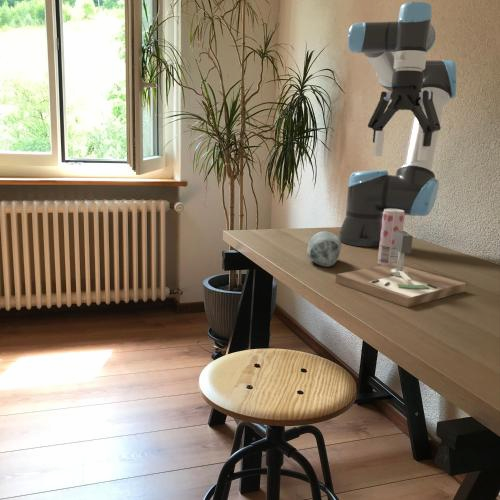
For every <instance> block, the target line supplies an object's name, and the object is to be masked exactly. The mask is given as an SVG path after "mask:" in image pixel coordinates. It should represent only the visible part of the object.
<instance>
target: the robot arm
mask: <svg viewBox="0 0 500 500" xmlns="http://www.w3.org/2000/svg"><path fill="white" fill-rule="evenodd" d="M432 6H433V5H431V3H430V2H426V1H409V2H405V3H403V4H401V6H400V8H399V13H398V18H397V20H396V21H372V22H371V21H369V22H368V21H367V22H366V21H363V22H356V23H353V24H351V25H350V27H349V30H348V35H347V46H348V49H349V51H350V52H352V53H358V54H361V53H363V55H364V56H365V57H366V59H367V61H368V62H369V63H370V65H371V67H372V68H373V70H374V71H375V79H376V81H377V82H378V83H379V85H380V86H381V87H383V88H384V89H385V90H387V91H383V90H382V91H381V92H380V97H379V101H378V103H377V105H376V107H375V110H374V111H373V113H372V115H371V118H370V120H369V122H368V124H367V127H368V128H370V129H371V130H373V135H372V136H373V137H372V143H374V144H373V154H372V156H373V157H383V150H384V138H385V133H386V132H385V131H384V128H385V126H386V125H387V124H388V122H389V121H390V120H391V119H392V118H393V117H394V116H395V114H396V113H397V112H399V111H411V112H412V114H413V116H412V122H411V126H410V132H409V136H408V141H407V145H406V150H405V155H404V160H403V164H402V165H401V166H400V167H398V168H397V170H396V174H395V175H393V174H392V175H391V174H389V172H388V170H387V169H377V170H376V169H375V170H374V169H373V170H372V169H371V170H359V171H354V172H352V173H351V174H350V176H349V180H348V185H347V188H348V189H347V197H346V198H347V199H346V208H345V209H346V211H345V218H344V220H343V222H342V225H341V227H340V230H339V232H338V235H337V237H338V238H339V239H340V240H341V244H345V245H350V246H355V247H356V246H357V247H365V248H367V247H368V248H377V247H378V248H379V244H380V236H381V227H382V218H383V212H384V209H400V210H404V214H405V216H412V217H426V216H428V215H430V213H431V212H432V210H433V208H434V206H435V202H436V199H437V197H438V196H437V195H438V191H439V185H440V182H439V180H438V179H437V178H436V174H435V172H434V171H433V170H432V167H433V161H434V158H435V153H436V147H437V143H438V137H439V131H440V130H441V128H442V127H441V121H442V116H443V111H444V108H445V107H446V106H448V105H449V103H450V101H451V99H454V98H456V96H457V75H458V74H457V72H458V71H457V66H458V65H457V63H456V61H454V60H448V59H447V60H446V59H441V60H439V59H438V60H433V59H432V60H431V59H430V60H427V55H428V54H427V53H428V52H429V51H430V50H431V49H432V48H433V47H434V45H435V42H436V30H435V27H434V26H433V25H432V23H431V21H432V18H433V15H432V12H433V11H432V10H433V7H432ZM389 102H390V103H389Z"/></svg>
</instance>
